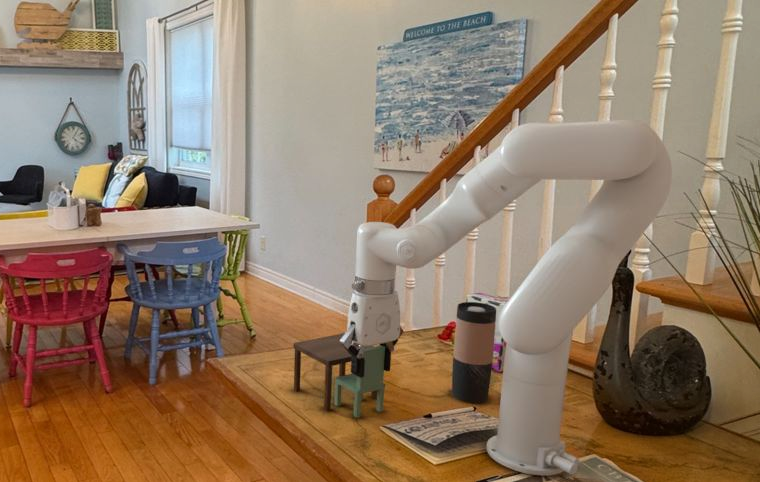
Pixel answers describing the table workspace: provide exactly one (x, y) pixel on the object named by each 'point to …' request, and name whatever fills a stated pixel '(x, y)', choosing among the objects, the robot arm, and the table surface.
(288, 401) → the table surface
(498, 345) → the candy bar box
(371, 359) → the chair
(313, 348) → the side table
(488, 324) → the travel mug
